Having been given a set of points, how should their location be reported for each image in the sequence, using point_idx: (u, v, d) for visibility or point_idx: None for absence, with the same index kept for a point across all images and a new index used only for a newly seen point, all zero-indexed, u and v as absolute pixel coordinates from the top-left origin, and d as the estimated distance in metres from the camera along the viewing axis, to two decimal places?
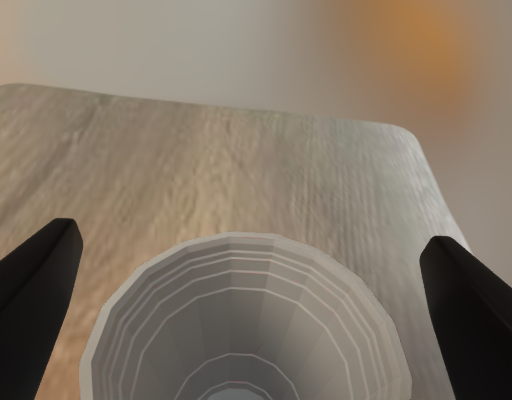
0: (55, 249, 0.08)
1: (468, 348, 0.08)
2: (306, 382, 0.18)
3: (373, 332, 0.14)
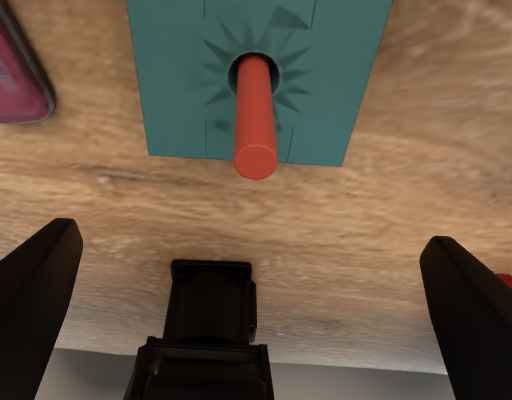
0: (55, 249, 0.08)
1: (468, 348, 0.08)
2: None
3: None
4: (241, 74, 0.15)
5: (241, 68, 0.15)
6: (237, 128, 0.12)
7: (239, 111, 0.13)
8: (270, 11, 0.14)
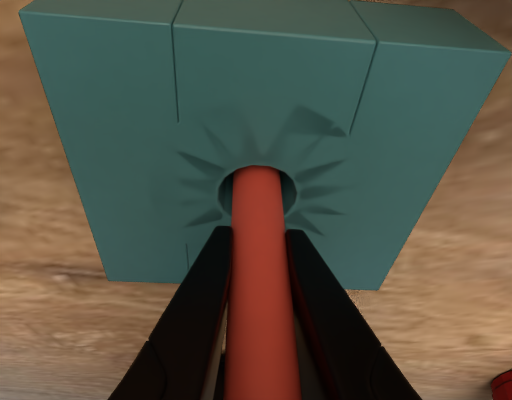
0: (231, 256, 0.08)
1: (297, 344, 0.08)
2: None
3: None
4: (238, 201, 0.10)
5: (238, 185, 0.10)
6: (229, 348, 0.07)
7: (234, 299, 0.07)
8: (285, 112, 0.09)
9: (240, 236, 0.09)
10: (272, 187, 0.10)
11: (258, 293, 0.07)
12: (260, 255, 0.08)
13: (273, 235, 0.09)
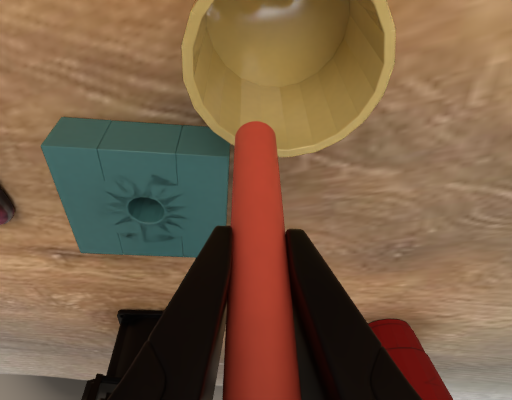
0: (230, 256, 0.08)
1: (297, 344, 0.08)
2: None
3: None
4: (237, 201, 0.10)
5: (238, 185, 0.10)
6: (229, 349, 0.07)
7: (233, 300, 0.07)
8: (148, 177, 0.21)
9: (240, 236, 0.09)
10: (272, 187, 0.10)
11: (258, 294, 0.07)
12: (260, 255, 0.08)
13: (273, 235, 0.09)
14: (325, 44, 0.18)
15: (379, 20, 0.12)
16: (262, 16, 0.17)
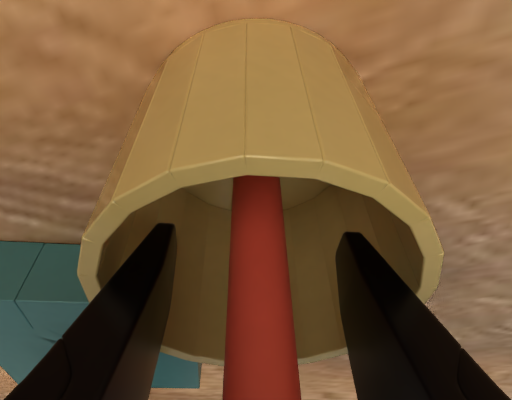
0: (167, 254, 0.08)
1: (364, 345, 0.08)
2: None
3: None
4: (237, 207, 0.09)
5: (238, 191, 0.10)
6: (228, 361, 0.07)
7: (233, 310, 0.07)
8: None
9: (240, 244, 0.08)
10: (272, 193, 0.10)
11: (258, 303, 0.07)
12: (260, 264, 0.08)
13: (273, 243, 0.08)
14: None
15: (416, 242, 0.07)
16: None
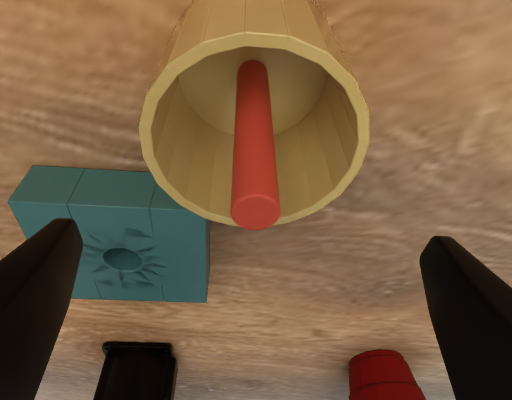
0: (55, 249, 0.08)
1: (468, 348, 0.08)
2: None
3: None
4: (239, 104, 0.14)
5: (239, 96, 0.14)
6: (234, 171, 0.11)
7: (237, 150, 0.12)
8: (122, 229, 0.20)
9: (241, 120, 0.13)
10: (263, 96, 0.14)
11: (253, 143, 0.11)
12: (254, 127, 0.12)
13: (263, 119, 0.13)
14: (304, 97, 0.17)
15: (351, 102, 0.11)
16: (236, 71, 0.17)
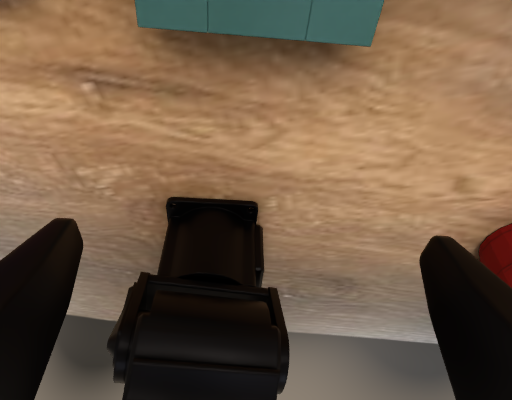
0: (55, 249, 0.08)
1: (468, 348, 0.08)
2: None
3: None
4: None
5: None
6: None
7: None
8: None
9: None
10: None
11: None
12: None
13: None
14: None
15: None
16: None
